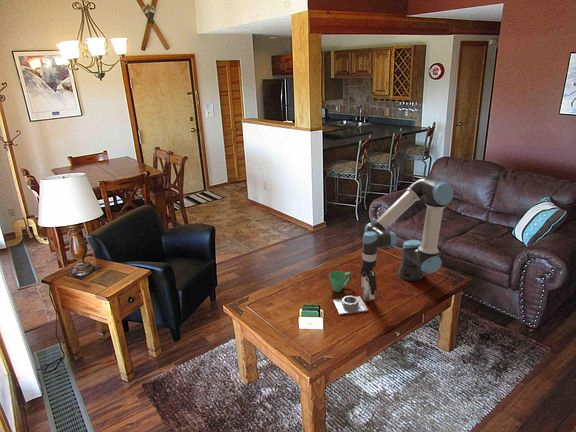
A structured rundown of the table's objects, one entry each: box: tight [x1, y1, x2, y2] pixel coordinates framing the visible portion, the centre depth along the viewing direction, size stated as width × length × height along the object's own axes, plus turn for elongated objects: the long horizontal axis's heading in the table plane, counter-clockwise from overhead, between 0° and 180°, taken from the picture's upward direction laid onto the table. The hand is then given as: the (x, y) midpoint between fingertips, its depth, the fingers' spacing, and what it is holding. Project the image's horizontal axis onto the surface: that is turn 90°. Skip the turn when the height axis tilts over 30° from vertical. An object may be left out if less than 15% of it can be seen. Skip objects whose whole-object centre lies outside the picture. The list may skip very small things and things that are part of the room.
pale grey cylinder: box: [362, 277, 373, 302], centre depth 227 cm, size 5×5×12 cm
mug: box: [328, 270, 352, 293], centre depth 239 cm, size 15×10×10 cm
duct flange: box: [332, 295, 369, 316], centre depth 223 cm, size 16×14×4 cm
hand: (367, 292), depth 228 cm, fingers open, 13 cm apart
